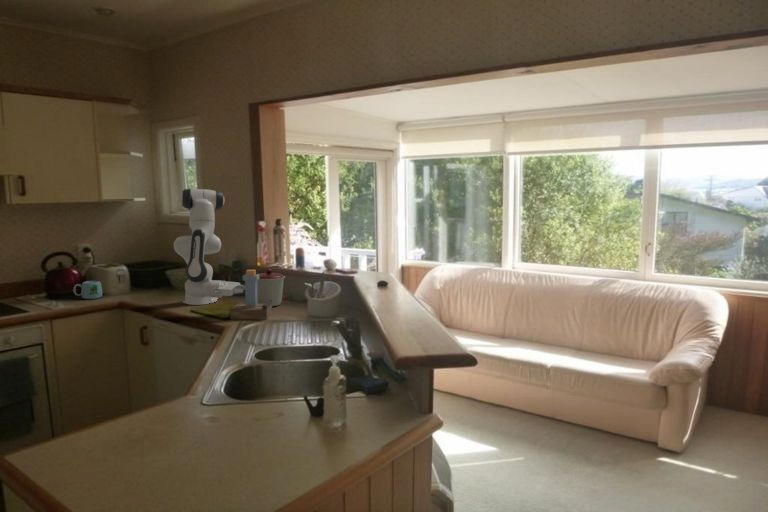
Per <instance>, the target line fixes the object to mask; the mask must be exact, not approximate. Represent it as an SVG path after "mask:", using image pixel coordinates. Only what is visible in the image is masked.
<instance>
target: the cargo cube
mask: <svg viewBox="0 0 768 512" xmlns="http://www.w3.org/2000/svg"><path fill="white" fill-rule="evenodd" d="M256 272H257V270H256V269H246V271H245V274H246V276H256V274H257V273H256Z"/></svg>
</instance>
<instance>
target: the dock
mask: <svg viewBox="0 0 768 512" xmlns="http://www.w3.org/2000/svg"><path fill="white" fill-rule="evenodd" d="M257 304H258V305H257V306H256V307H246V302H244V303H243V302H237V303H236V304H235V305H234V306H233V307H231V308H230V309H229V316H230V320H268V318H270V316H271V314H272V313H273V307H272V300H267V301H266V302H265V303H257Z"/></svg>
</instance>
